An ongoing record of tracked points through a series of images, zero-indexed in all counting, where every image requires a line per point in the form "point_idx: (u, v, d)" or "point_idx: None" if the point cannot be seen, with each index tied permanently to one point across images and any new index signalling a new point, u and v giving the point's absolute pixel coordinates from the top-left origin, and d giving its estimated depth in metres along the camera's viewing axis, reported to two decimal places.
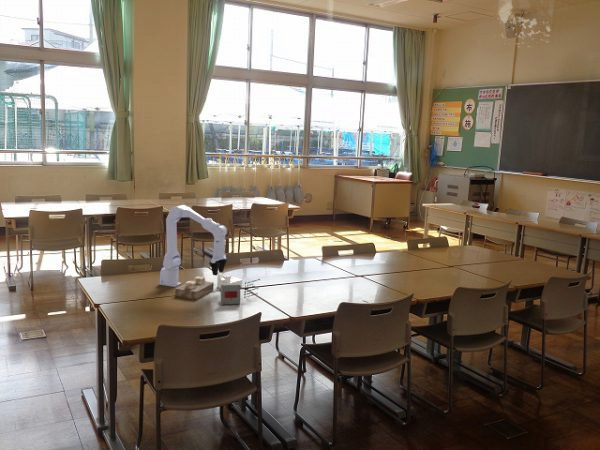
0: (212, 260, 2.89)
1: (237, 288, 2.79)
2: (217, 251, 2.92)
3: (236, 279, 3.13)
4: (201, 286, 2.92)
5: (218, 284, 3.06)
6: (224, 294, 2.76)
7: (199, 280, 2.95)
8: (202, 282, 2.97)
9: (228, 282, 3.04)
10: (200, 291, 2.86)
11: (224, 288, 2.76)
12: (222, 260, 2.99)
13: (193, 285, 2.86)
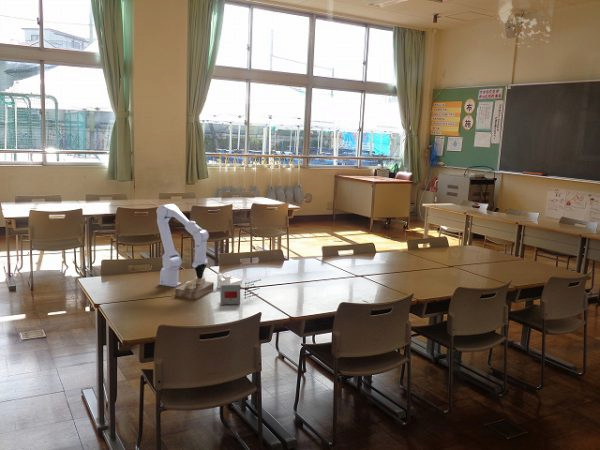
0: (193, 265, 2.89)
1: (237, 288, 2.78)
2: (198, 256, 2.92)
3: (236, 279, 3.13)
4: (201, 286, 2.92)
5: (218, 284, 3.06)
6: (224, 294, 2.76)
7: (199, 280, 2.95)
8: (202, 282, 2.97)
9: (228, 282, 3.03)
10: (200, 291, 2.86)
11: (224, 288, 2.76)
12: None
13: (193, 285, 2.86)
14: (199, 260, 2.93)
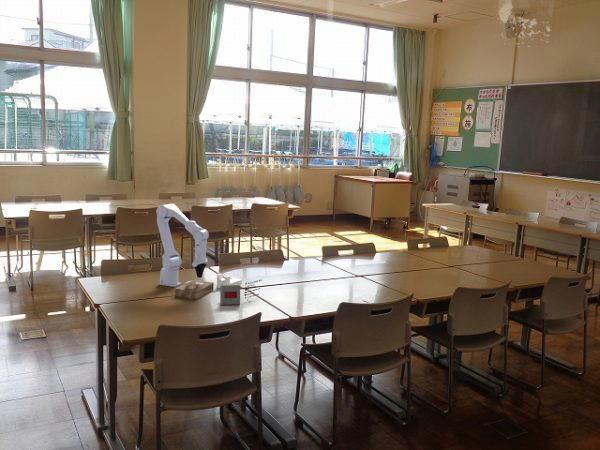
0: (193, 264, 2.89)
1: (237, 288, 2.78)
2: (198, 255, 2.92)
3: (235, 279, 3.12)
4: (201, 286, 2.92)
5: (218, 284, 3.06)
6: (224, 294, 2.76)
7: None
8: None
9: (228, 282, 3.03)
10: (200, 291, 2.86)
11: (224, 288, 2.76)
12: None
13: (193, 285, 2.86)
14: (199, 259, 2.93)
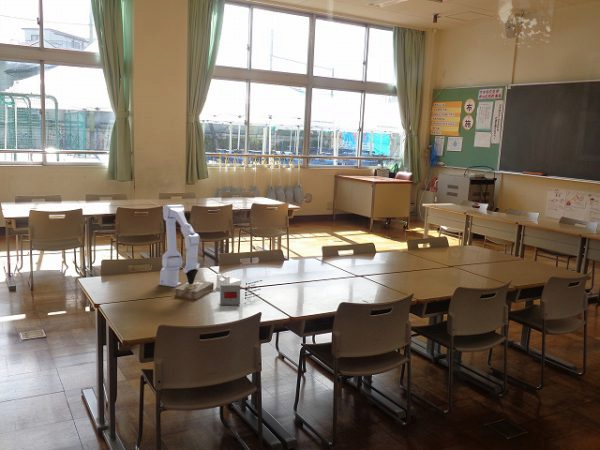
0: (184, 270, 2.80)
1: (237, 289, 2.78)
2: (189, 260, 2.83)
3: (235, 279, 3.12)
4: (201, 286, 2.92)
5: (217, 284, 3.05)
6: (223, 294, 2.76)
7: None
8: None
9: (227, 282, 3.03)
10: (200, 291, 2.86)
11: (224, 288, 2.76)
12: None
13: (192, 287, 2.86)
14: (190, 265, 2.83)
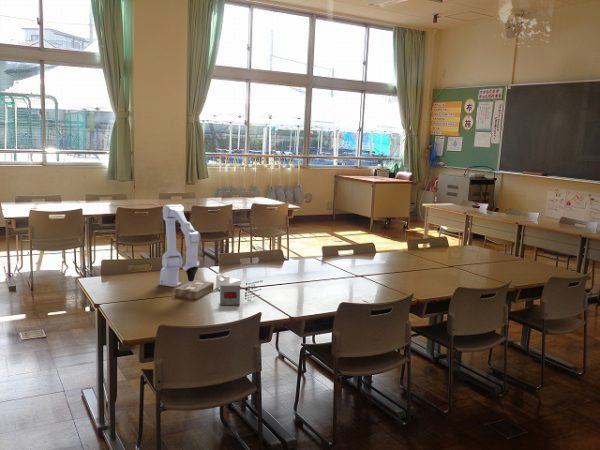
0: (184, 267, 2.79)
1: (237, 289, 2.77)
2: (189, 258, 2.83)
3: (235, 279, 3.12)
4: (201, 286, 2.92)
5: (217, 285, 3.05)
6: (223, 294, 2.75)
7: None
8: None
9: (227, 282, 3.02)
10: (200, 291, 2.86)
11: (223, 288, 2.76)
12: None
13: None
14: (190, 263, 2.83)
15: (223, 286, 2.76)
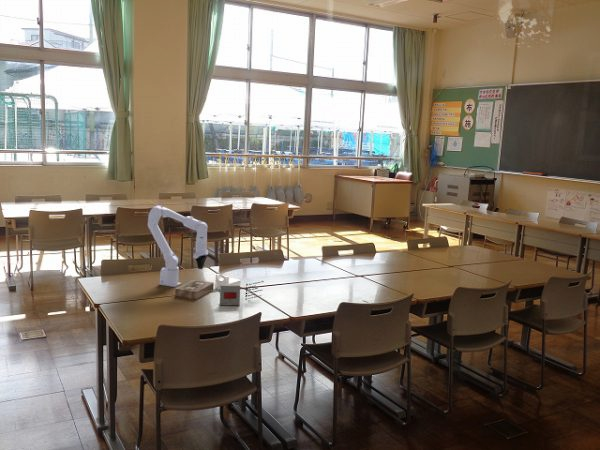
0: (194, 255, 2.98)
1: (237, 289, 2.77)
2: (199, 247, 3.02)
3: (234, 280, 3.12)
4: (201, 286, 2.92)
5: (216, 285, 3.05)
6: (223, 295, 2.75)
7: None
8: None
9: (226, 283, 3.02)
10: (200, 291, 2.86)
11: (223, 289, 2.75)
12: None
13: None
14: (200, 251, 3.02)
15: (223, 286, 2.75)
